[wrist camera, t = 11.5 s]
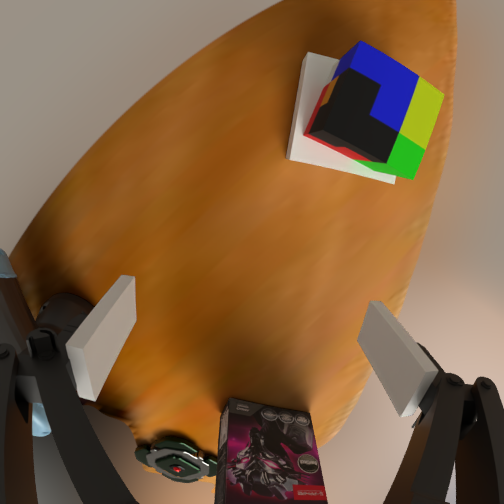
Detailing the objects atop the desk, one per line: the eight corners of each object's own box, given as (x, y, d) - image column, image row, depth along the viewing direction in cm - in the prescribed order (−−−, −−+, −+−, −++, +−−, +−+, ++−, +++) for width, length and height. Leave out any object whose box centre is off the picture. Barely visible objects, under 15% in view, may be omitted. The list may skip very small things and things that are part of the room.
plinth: (285, 158, 38) (289, 159, 34) (302, 60, 34) (308, 51, 30) (382, 180, 39) (394, 184, 35) (396, 88, 35) (410, 84, 31)
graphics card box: (312, 411, 53) (337, 531, 27) (298, 430, 55) (314, 543, 29) (229, 394, 51) (220, 529, 25) (219, 416, 53) (208, 539, 27)
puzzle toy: (332, 65, 31) (360, 40, 21) (401, 104, 32) (444, 94, 22) (302, 135, 33) (322, 130, 24) (374, 171, 35) (413, 179, 25)
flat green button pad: (182, 478, 64) (180, 490, 59) (130, 446, 59) (125, 460, 55) (231, 462, 60) (230, 477, 56) (176, 428, 55) (172, 444, 51)
